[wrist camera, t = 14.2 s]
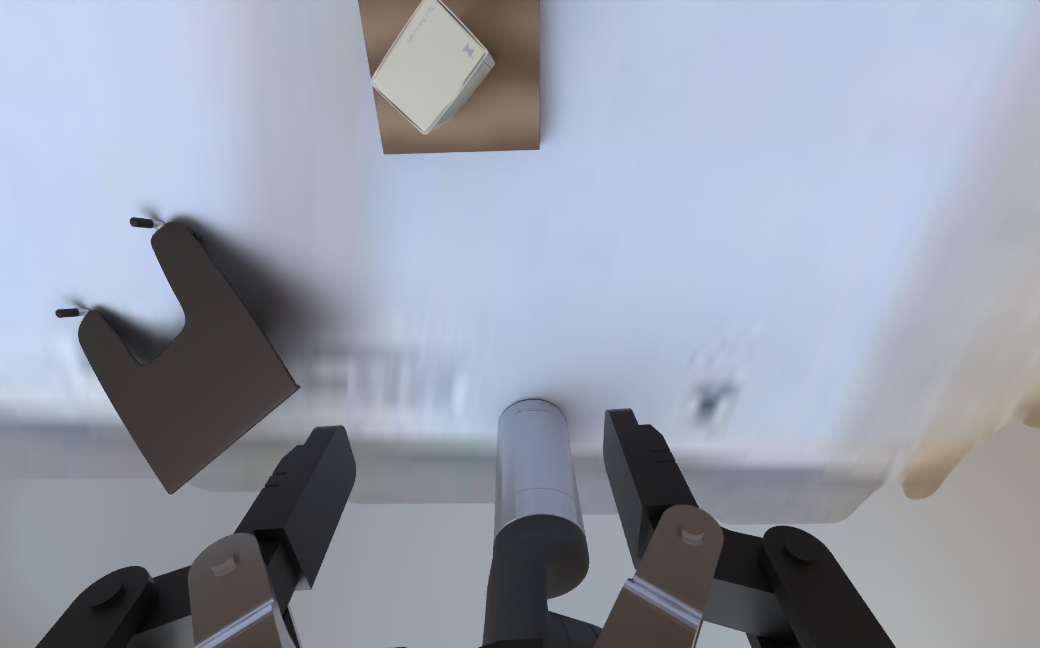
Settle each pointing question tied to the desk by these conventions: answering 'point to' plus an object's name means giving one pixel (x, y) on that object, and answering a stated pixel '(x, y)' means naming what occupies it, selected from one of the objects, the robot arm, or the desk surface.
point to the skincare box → (432, 67)
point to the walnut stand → (498, 99)
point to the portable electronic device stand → (189, 365)
